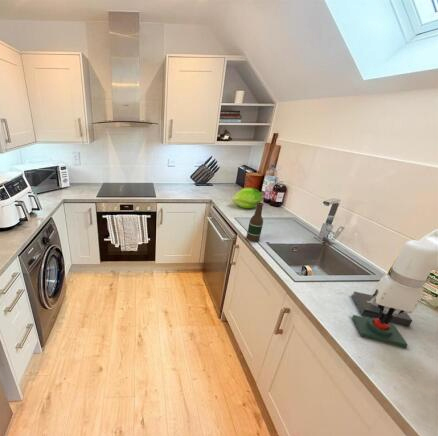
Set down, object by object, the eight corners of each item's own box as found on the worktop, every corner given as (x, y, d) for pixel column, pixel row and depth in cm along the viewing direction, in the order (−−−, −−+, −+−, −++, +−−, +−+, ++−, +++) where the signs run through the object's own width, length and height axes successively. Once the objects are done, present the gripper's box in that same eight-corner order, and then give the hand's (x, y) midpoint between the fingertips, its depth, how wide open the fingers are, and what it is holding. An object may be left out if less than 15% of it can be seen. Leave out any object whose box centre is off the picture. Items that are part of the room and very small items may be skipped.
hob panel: (393, 306, 96) (396, 300, 94) (408, 326, 86) (412, 320, 85) (351, 296, 100) (354, 291, 99) (361, 315, 91) (364, 309, 90)
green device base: (392, 327, 86) (396, 320, 84) (405, 348, 78) (410, 341, 77) (351, 317, 90) (355, 311, 89) (361, 336, 82) (364, 329, 81)
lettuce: (229, 211, 204) (227, 192, 207) (259, 209, 202) (256, 190, 205) (235, 207, 186) (233, 186, 188) (268, 204, 184) (265, 183, 187)
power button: (384, 323, 84) (386, 319, 83) (389, 331, 81) (391, 327, 80) (371, 320, 85) (373, 316, 84) (376, 328, 82) (378, 324, 81)
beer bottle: (257, 236, 150) (265, 201, 141) (261, 242, 143) (269, 205, 134) (245, 235, 152) (251, 200, 142) (247, 241, 145) (254, 205, 135)
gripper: (430, 276, 75) (404, 319, 82) (371, 266, 80) (352, 307, 88) (446, 291, 69) (417, 336, 76) (381, 279, 74) (360, 322, 81)
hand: (382, 320), depth 82 cm, fingers closed
